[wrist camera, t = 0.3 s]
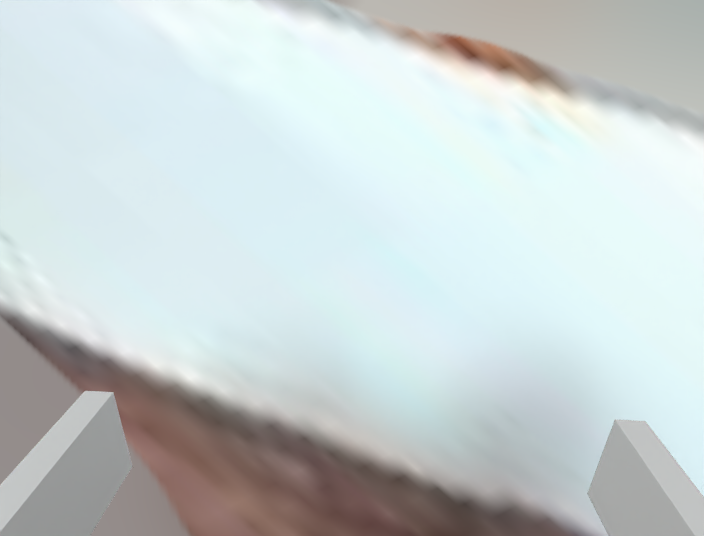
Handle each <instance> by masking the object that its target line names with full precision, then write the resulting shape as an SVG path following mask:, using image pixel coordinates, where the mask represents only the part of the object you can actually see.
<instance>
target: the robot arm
mask: <svg viewBox="0 0 704 536" xmlns="http://www.w3.org/2000/svg"><path fill="white" fill-rule="evenodd" d="M131 468H132V462H131V458H130V455H129V451H128V447H127V443H126V439H125V435H124V432H123V428H122V424H121V420H120V416H119V412H118V409H117V405H116V401H115V397H114V393H113V392H98V391H85V392H84V393H83V394H82V395H81V396H80V397H79V398H78V399H77V401H76V402H75V403H74V404H73V405H72V406H71V407H70V408H69V409H68V411H66V413H65V414H64V415H63V416H62V417H61V418H60V419H59V420H58V421H57V423H56V424H55V425H54V426H53V427H52V428H51V429H50V430H49V431H48V433H47V434H46V435H45V436H44V437H43V438H42V439H41V440H40V441H39V443H38V444H37V445H36V446H35V447H34V448H33V449H32V450H31V451H30V453H29V454H28V455H27V456H26V457H25V458H24V459H23V460H22V461H21V463H20V464H19V465H18V466H17V467H16V468H15V469H14V470H13V471H12V472H11V474H10V475H9V476H8V477H7V478H6V479H5V480H4V481H3V482H2V484H1V485H0V536H90V535H91V534H92V532H93V530H94V528H95V527H96V525H97V524H98V522H99V521H100V519H101V517H102V516H103V514H104V512H105V511H106V509H107V507H108V506H109V504H110V503H111V501H112V499H113V498H114V496H115V494H116V493H117V491H118V489H119V488H120V486H121V484H122V483H123V481H124V480H125V478H126V476H127V475H128V473H129V471H130V470H131ZM587 494H588V496H589V498H590V500H591V502H592V504H593V506H594V508H595V510H596V512H597V514H598V515H599V517H600V519H601V521H602V523H603V525H604V527H605V529H606V531H607V533H608V535H609V536H704V497H703V495H702V494H701V493H700V491H699V490H698V489H697V487H696V486H695V485H694V484H693V482H692V481H691V480H690V478H689V477H688V476H687V475H686V473H685V472H684V471H683V469H682V468H681V467H680V465H679V464H678V463H677V462H676V460H675V459H674V458H673V456H672V455H671V454H670V452H669V451H668V450H667V449H666V447H665V446H664V445H663V443H662V442H661V441H660V440H659V438H658V437H657V436H656V434H655V433H654V432H653V430H652V429H651V428H650V427H649V425H648V424H647V423H646V421H631V420H615V421H614V424H613V426H612V429H611V432H610V434H609V437H608V440H607V442H606V445H605V448H604V450H603V453H602V456H601V458H600V461H599V464H598V467H597V469H596V472H595V475H594V477H593V480H592V483H591V485H590V488H589V491H588V493H587Z"/></svg>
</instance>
